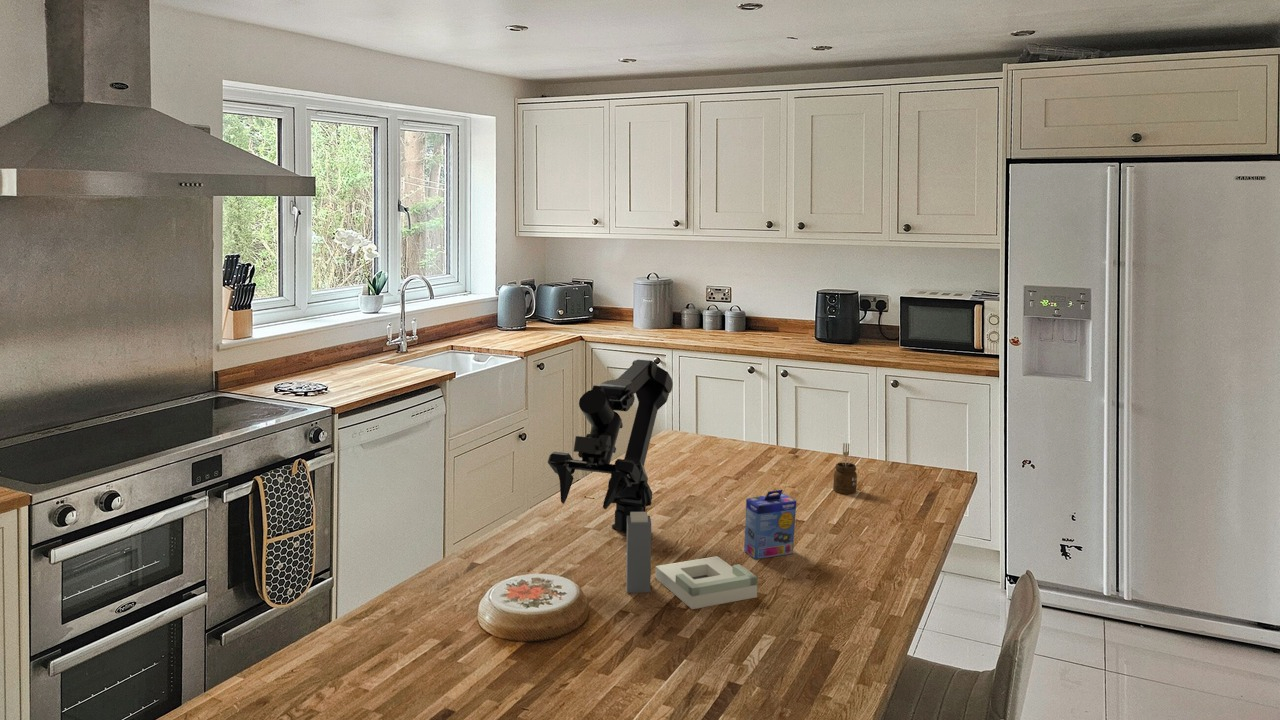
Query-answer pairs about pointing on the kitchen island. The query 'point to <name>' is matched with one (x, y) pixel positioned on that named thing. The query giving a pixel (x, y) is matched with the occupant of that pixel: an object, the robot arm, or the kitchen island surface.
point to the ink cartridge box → (769, 525)
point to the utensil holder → (845, 476)
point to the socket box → (707, 581)
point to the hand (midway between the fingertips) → (583, 505)
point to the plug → (638, 553)
